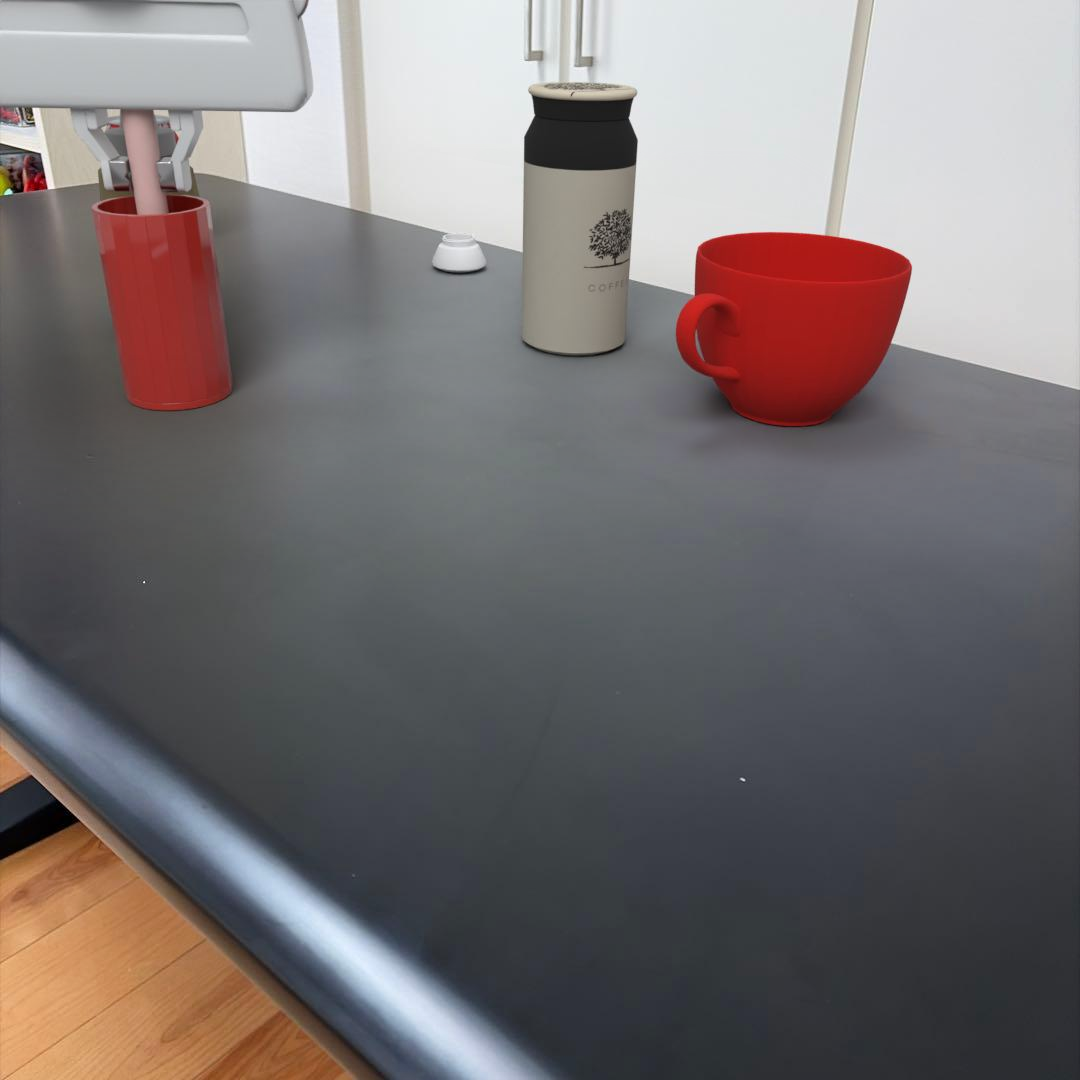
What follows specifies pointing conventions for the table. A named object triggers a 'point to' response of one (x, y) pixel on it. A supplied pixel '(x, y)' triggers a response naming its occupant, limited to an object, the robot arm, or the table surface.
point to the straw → (144, 160)
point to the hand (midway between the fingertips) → (149, 190)
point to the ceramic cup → (791, 321)
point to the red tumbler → (165, 302)
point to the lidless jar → (459, 254)
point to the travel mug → (578, 217)
